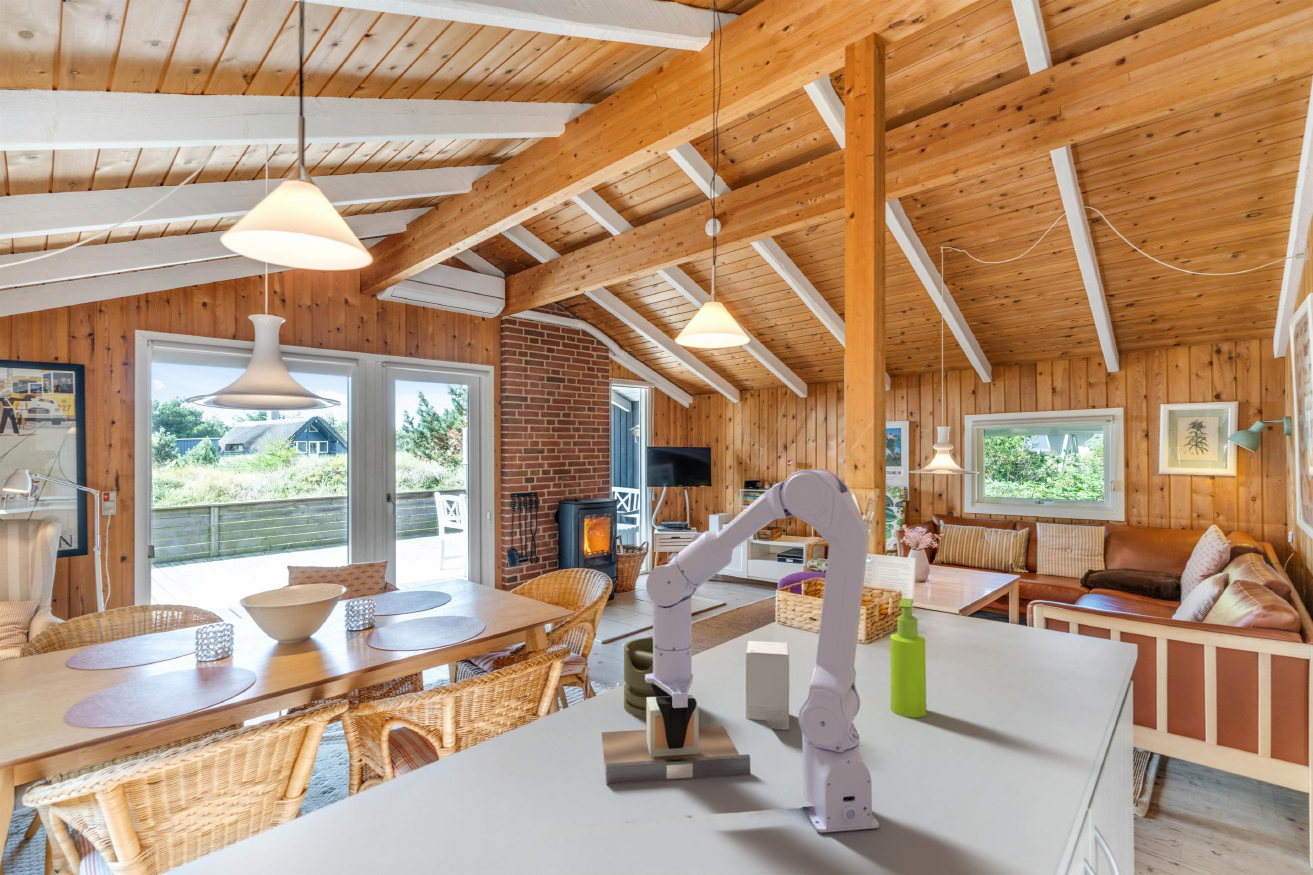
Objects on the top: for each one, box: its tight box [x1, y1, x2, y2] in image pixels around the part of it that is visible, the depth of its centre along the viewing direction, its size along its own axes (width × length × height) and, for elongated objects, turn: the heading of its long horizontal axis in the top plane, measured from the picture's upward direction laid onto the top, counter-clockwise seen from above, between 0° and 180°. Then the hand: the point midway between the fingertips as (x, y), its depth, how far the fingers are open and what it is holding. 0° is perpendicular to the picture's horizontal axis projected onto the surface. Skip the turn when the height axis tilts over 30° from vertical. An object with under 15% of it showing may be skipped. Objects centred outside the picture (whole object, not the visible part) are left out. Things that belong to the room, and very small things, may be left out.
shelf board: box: [601, 724, 744, 786], centre depth 93 cm, size 16×20×2 cm
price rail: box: [605, 754, 751, 785], centre depth 85 cm, size 1×20×2 cm, turn 97°
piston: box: [623, 636, 656, 720], centre depth 111 cm, size 11×12×11 cm
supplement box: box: [745, 640, 790, 731], centre depth 108 cm, size 7×7×13 cm
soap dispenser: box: [889, 597, 927, 719], centre depth 111 cm, size 6×7×20 cm
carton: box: [645, 694, 700, 757], centre depth 91 cm, size 5×7×6 cm
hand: (672, 737), depth 91 cm, fingers closed on carton, 5 cm apart
